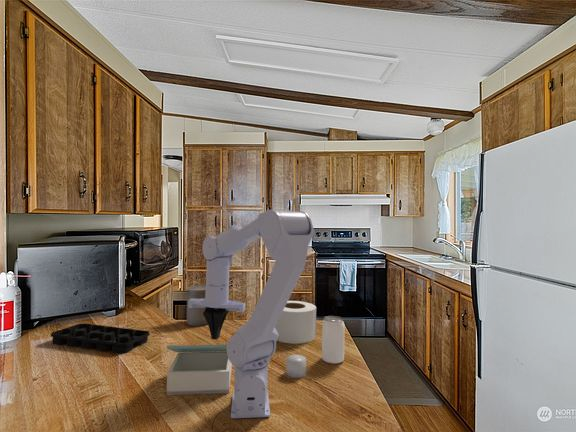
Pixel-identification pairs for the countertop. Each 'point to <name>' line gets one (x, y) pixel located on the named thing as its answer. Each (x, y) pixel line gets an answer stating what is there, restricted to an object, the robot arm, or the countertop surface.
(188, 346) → the lid
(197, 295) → the pillar candle
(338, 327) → the can
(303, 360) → the grey rounded dome
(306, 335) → the toilet paper roll
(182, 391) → the box
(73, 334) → the black muffin tray
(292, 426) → the countertop surface
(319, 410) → the countertop surface
